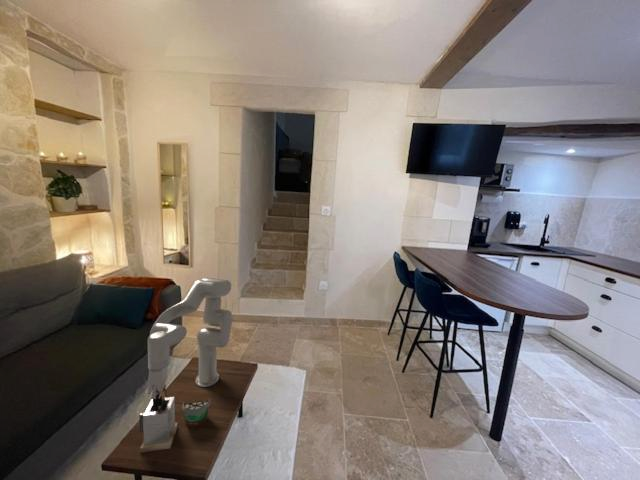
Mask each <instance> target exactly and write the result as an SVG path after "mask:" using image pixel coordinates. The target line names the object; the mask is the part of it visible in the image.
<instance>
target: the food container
mask: <svg viewBox="0 0 640 480" xmlns="http://www.w3.org/2000/svg"><path fill="white" fill-rule="evenodd" d="M210 405H211V399H210V398H209V399H208V400H196V401H193V402H187V403H186V402H182V405H181V408H182V409H181V410H182V411H183V412H184V420H185V425H186V426H187V427H189V428H190V429H192V428H198V427H201V426H202V425H204V424H205V423H206V421H207V419H208V415H209V407H210Z"/></svg>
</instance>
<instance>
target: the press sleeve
mask: <svg viewBox="0 0 640 480" xmlns="http://www.w3.org/2000/svg"><path fill="white" fill-rule="evenodd" d="M175 400H176V398H175V396H169V397H165V401H164V402H163V403H162V405H161V411H158V406H156V407H153V399H151V400H150V402H149V404H148V406H147V408H146V410H145V412H140V413H139V432H140V433H143V441H144V446H146V445H153V444H161V443H168V442H169V439H170V436H171V433H172V431H173V428H174V425H175V423H176V420H175V418H176V417H175V416H176V414H175V413H176V412H175V410H176V408H175V407H176V405H175V402H176V401H175Z"/></svg>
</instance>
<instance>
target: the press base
mask: <svg viewBox="0 0 640 480" xmlns="http://www.w3.org/2000/svg"><path fill="white" fill-rule="evenodd" d="M178 427H179V422H176V421H175V425H174V428H173V431H172V433H171V436H170V439H169V442H168V443H161V444H153V445H146V446H144V440H143V441H142V444H141V445H140V449H139V450H140V451H139V453H141V454H142V453H147V452H154V451H161V450H162V451H163V450H169V449H171V447H172V444H173V442H174V438H175V435H176V432H177V429H178Z"/></svg>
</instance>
